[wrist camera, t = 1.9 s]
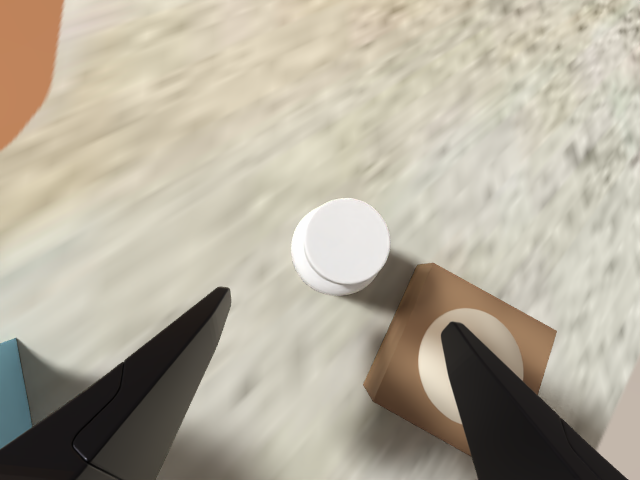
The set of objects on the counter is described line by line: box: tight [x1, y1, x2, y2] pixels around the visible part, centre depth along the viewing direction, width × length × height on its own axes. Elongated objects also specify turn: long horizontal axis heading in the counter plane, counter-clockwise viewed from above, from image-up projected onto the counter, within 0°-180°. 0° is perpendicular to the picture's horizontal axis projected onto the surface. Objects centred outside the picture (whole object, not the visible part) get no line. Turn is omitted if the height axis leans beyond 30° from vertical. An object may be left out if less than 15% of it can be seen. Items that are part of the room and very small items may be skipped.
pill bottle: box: [291, 198, 391, 296], centre depth 15 cm, size 5×5×10 cm
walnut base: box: [363, 263, 557, 457], centre depth 18 cm, size 11×11×3 cm
